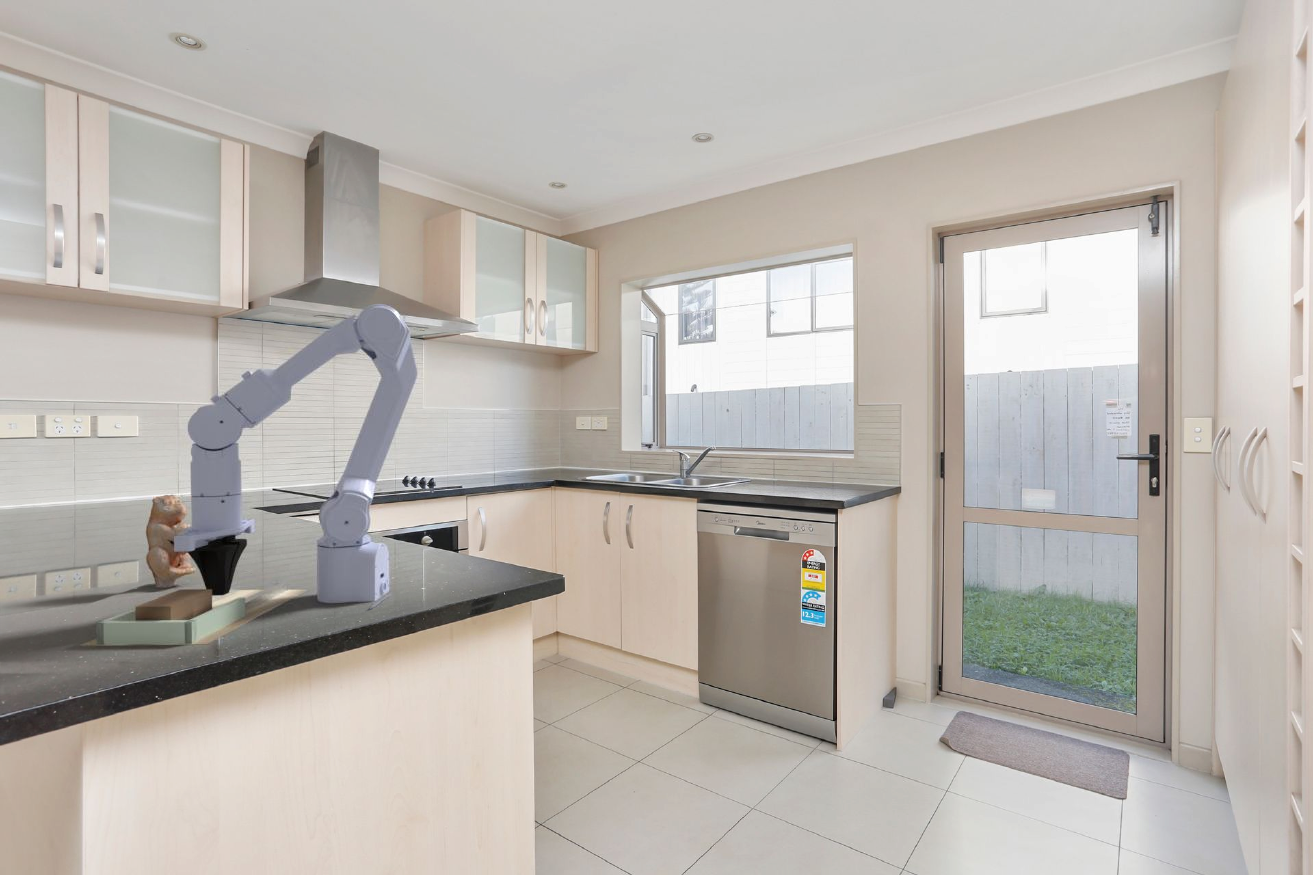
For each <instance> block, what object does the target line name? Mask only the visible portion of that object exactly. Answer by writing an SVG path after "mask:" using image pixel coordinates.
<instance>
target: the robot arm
mask: <svg viewBox="0 0 1313 875" xmlns="http://www.w3.org/2000/svg"><path fill="white" fill-rule="evenodd" d="M356 316H357V313H355V314H352V315H351V316H349V317H347V318H345V319H344V320H341V321H339V322H338V323H337V324H335V325H333V326H331V327H329V328H328V329H327V330H325V331H324V332H323V333H322V334H321V335H318V336H317V338H315V339H313V340H312V341H311V342H310V343H308V344H307V345H306V346H305V347H303V348H301V349H300V350H299V351H298V352H297V353H296V354H294V355H293V356H291V357H290V358H289V359H288V360H286V361H285V362H283V363H282V364H281V365H280V366H278V367H277V368H275V369H269V368H258V369H256V370H255V371H253V372H252V371H251V370H247V371H245V372H244V373H243V374H242V375H241V378H242V380H241V381H240V382H238V383H237V384H235V385H234V386H233V387H231V388H230V389H229V390H227V391H226V392H224V393H223V394H221V395H218V394H215V395H213V396H212V397H211V398H210V401H211V402H212V403H213V404H206V405H201V406H200V407H198V408H197V410H196V412H194V413H193V414H192V415H191V417H190V418H189V420H188V422H187V432H188V436H189V438H190V439H191V440H192V442H194V443H192V444H191V448H190V454H191V460H190V463H189V465H190V498H191V499H190V500H191V504H190V505H191V506H190V507H191V508H190V509H191V511H190V512H191V525H190V526H191V527H187V528H184V533H182V534H180V535H178V536H174V551H175V552H179V551H187V553H188V554H189V555H190V556H191V559H192V560H193V562H194V563H195V565H196V566H197V568H198V570H199V572H200V575H201V578H202V581H203V584H204V587H205V589H212V596H219V595H225V594H228V593H229V591H230V588H231V584H232V583H233V579H234V575H235V571H236V568H237V566H238V562H239V560H240V558H241V556H242V554H243V552H244V551H245V549H246V547H247V545H248V540H247V539H246V538H237V537H238V536H242V535H244V534H253V533H255V531H256V530H255V527H256V526H255V519H254V518H249V519H248V518H245V519H244V518H243V498H242V497H243V494H242V461H241V459H240V457H239V452H240V450H239V442H238V441H239V440H240V438H241V436H242V434H243V430H244V429H254V428H255V427H256V426H258V425H259V424H260V423H261V422H262V421H265V419H267V418H268V417H270V416H271V415H272V414H274V413H275V412H277V411H278V410H279V409H280V408H282V407H283V406H284V405H286V404H287V403H288V402H290V401H291V398H292V397H291V396H292V387H293V386H294V385H296V384H298V383H299V382H300V381H302V380H303V379H305V378H306V377H308V376H309V375H311V374H312V373H313V372H315V371H316V370H317V369H319V368H321V367H322V366H323V365H325V364H326V363H328V362H329V361H330V360H332V359H334V358H335V357H336V356H340V355H345V354H346V355H347V354H355V353H357V352H359V350H362V351H363V352H364V353H365V354H366V355H367V356H368V357H369V358H370V359H371V361H372V362H373V364H374V366H375V368H376V369H377V371H378V373H379V375H380V377H381V378H380V380H379V383H378V384H377V388H376V389H375V390H376V391H375V392H374V395H373V399H372V401H371V403H370V405H369V408H368V411H367V413H366V416H365V418H364V420H363V422H362V425H361V429H360V430H359V433H358V436H357V438H356V440H355V443H354V445H353V448H352V451H351V453H350V455H349V458H348V461H347V463H346V465H345V469H344V471H343V472H342V473H343V474H342V475H341V477H340V479H339V480H338V482H337V485H336V487H335V489H334V491H333V493H332V494H331V496H330V497H329V498H328V499H326V500H325V501H324V502H323V503H322V505H321V507H320V508H319V511H318V521H319V524H320V526H321V530H322V532H323V535H322V537H320V538H319V539H317V540H316V544H317V545H316V586H317V587H316V595H317V596H316V598H317V601H318V602H321V603H326V604H338V603H339V604H340V603H343V604H344V603H353V602H355V603H356V602H357V603H359V602H361V603H362V602H366V603H367V602H371V603H372V602H376V603H374V604H373V605H372V606H370V607H369V609H374V607H376V606H377V605H378V604H380V603H382V602H383V601H385V599H387V598H388V597H389V596H392V592H390V552H389V548H388V545H387V544H386V543H383V542H373V541H372V537H371V535H370V534H367V533H368V531H369V529H370V527H371V526H370V525H371V515H370V508H371V506H372V502H373V499H374V494H375V487H376V484H377V481H378V478H379V477H380V474H381V470H382V468H383V466H384V463H385V461H386V458H387V456H388V453H389V450H390V448H391V445H392V442H393V440H394V438H395V435H396V432H397V429H398V427H399V424H400V421H401V420H402V416H403V414H404V412H405V409H406V407H407V404H408V401H409V399H410V396H411V393H412V391H413V388H414V386H415V383H416V381H417V378H418V367H417V364H416V358H415V355H414V351H413V350H414V349H413V346H412V342H411V330H410V328H409V327H408V325H407V324H406V322H405V320H404V319H403V318H402V316H401V314H400V313H399V312H398V311H397V310H396V309H395V308H393V307H392V306H389V305H387V304H384V303H383V304H382V303H375V304H370V305H368V306H367V307H365V308H364V309H362V310H361V311H360V313H359V315H358V317H357V318H356V319H355V317H356ZM389 592H390V593H389ZM387 593H388V594H387ZM386 594H387V595H386ZM383 596H384V597H383ZM382 597H383V598H382ZM380 598H381V599H380Z"/></svg>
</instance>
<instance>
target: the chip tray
mask: <svg viewBox="0 0 1313 875" xmlns="http://www.w3.org/2000/svg"><path fill="white" fill-rule="evenodd" d="M243 617H245V597H243V598H237V599H235V600H232V601H230V602H228V603H226V604H224V605H221V606H219V607H217V608H215V609H213V610H210V611H208V612H206V613H204V614H201V615H199V616H197V617H195V618H193V619H190V620H149V621H136V616H135V608H131V609H130V610H127V611H124V612H121V613H119V614H117V615H114V616H112V617H108V618H107V619H103V620H101V621H98V622H96V624H95V625H96V626H95V628H96V639H97V645H109V644H192V643H194V642H196V641H198V640H200V639H202V638H204V637H206V636H208V635H210V634H212V633H214V632H216V631H217V630H219V629H221V628H223V627H225V626H227V625H229V624H231V623H233V622H235V621H237V620H239V619H241V618H243ZM109 646H110V645H109Z"/></svg>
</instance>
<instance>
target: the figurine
mask: <svg viewBox="0 0 1313 875" xmlns="http://www.w3.org/2000/svg"><path fill="white" fill-rule="evenodd" d="M187 514H188V511H187V507H186V506H185V505H184V504H183V503H182V502H181V500H180V498H179V497H178V496H177V495H175V494H170V495H168V494H165V495H162V496H156V497H153V498H152V506H151V509H150V516H149V518H148V522H147V525H146V528H145V536H146V540H147V544H148V552H147V553H146V557H145V559H146V563H147V566H148V568H149V570H150V571H151V573H152V577H153V578H154V582H155V588H158V589H159V588H165V589H166V588H170V587H173V586H175V585H176V580H177V579H181V578H182V577H184V576H187V575H191V574H194V573H196V571H197V568H195V567H192V564H191V559H192V557H191V556H190V555H189V554H188V553H187V551H179V552H175V551H174V536H178V535H180V534H182V533H184V528H187V527H191V526H192V525H191V524H189V523H187V522H183V520H184V519H185V518H186V516H187Z"/></svg>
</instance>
